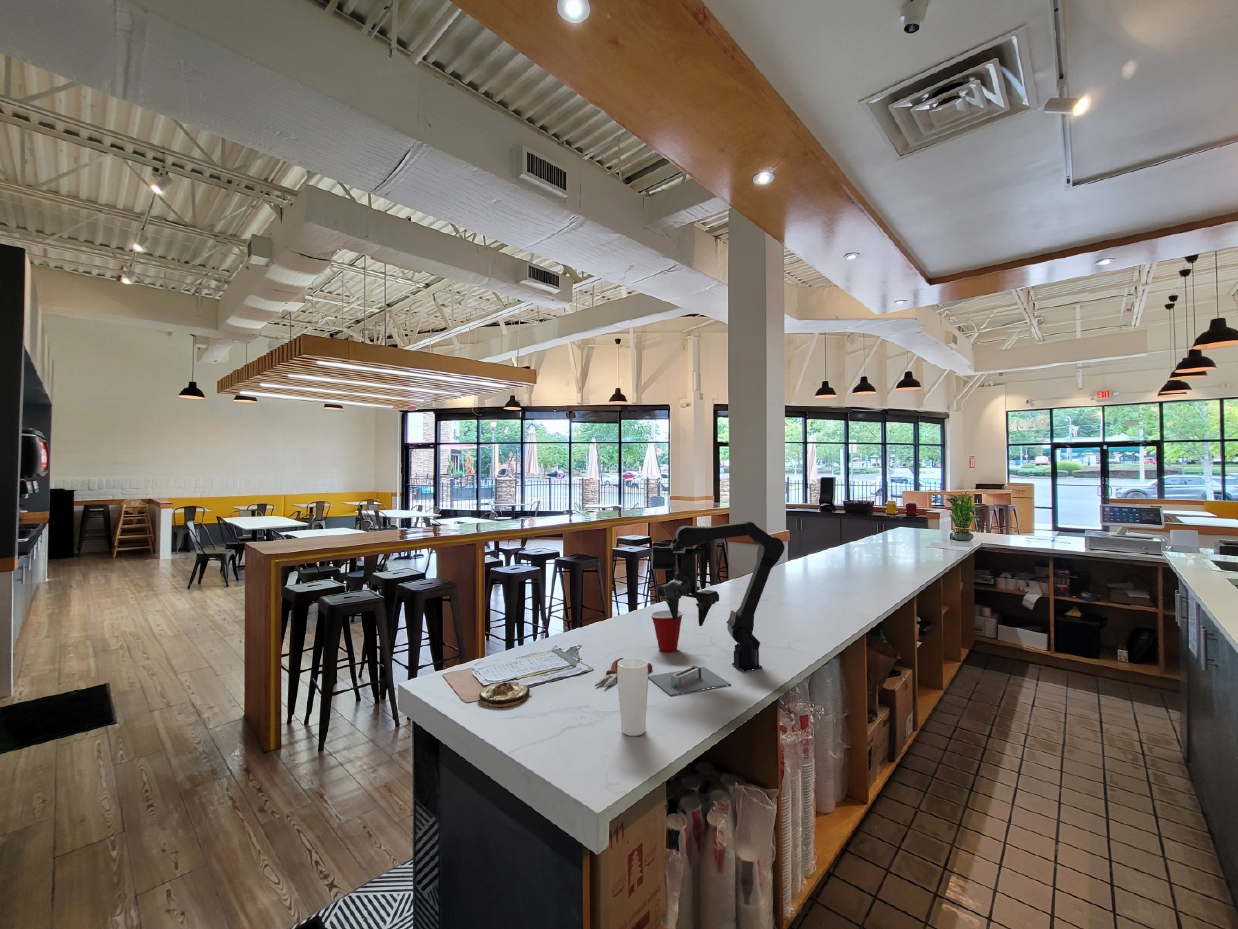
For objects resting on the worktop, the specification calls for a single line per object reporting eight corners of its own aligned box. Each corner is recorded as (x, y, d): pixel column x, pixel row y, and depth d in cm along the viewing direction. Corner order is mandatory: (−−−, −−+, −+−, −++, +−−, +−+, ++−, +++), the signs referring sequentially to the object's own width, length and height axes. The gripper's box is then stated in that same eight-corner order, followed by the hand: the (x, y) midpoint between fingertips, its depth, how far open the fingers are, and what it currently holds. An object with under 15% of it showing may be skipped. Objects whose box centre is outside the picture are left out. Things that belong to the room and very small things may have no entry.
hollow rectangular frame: (693, 665, 150) (668, 676, 142) (700, 667, 148) (676, 678, 140) (693, 675, 150) (669, 687, 142) (701, 678, 148) (677, 689, 140)
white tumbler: (616, 725, 121) (615, 658, 122) (646, 723, 122) (645, 656, 122) (619, 739, 115) (618, 668, 115) (651, 738, 115) (649, 667, 116)
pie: (508, 716, 128) (508, 699, 128) (462, 705, 135) (461, 688, 135) (546, 694, 141) (545, 678, 141) (501, 684, 148) (501, 669, 148)
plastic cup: (661, 642, 182) (661, 606, 183) (690, 647, 176) (689, 610, 176) (644, 651, 173) (643, 613, 174) (673, 657, 167) (672, 618, 167)
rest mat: (704, 668, 157) (704, 667, 157) (730, 685, 144) (730, 683, 144) (647, 677, 150) (647, 676, 150) (670, 696, 137) (670, 694, 137)
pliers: (581, 687, 145) (581, 677, 146) (620, 664, 163) (620, 656, 163) (617, 695, 140) (617, 685, 140) (654, 671, 157) (654, 662, 157)
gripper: (644, 569, 158) (645, 623, 158) (696, 577, 146) (697, 635, 145) (668, 565, 167) (669, 615, 166) (719, 571, 154) (720, 626, 153)
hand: (687, 623), depth 157 cm, fingers open, 9 cm apart
